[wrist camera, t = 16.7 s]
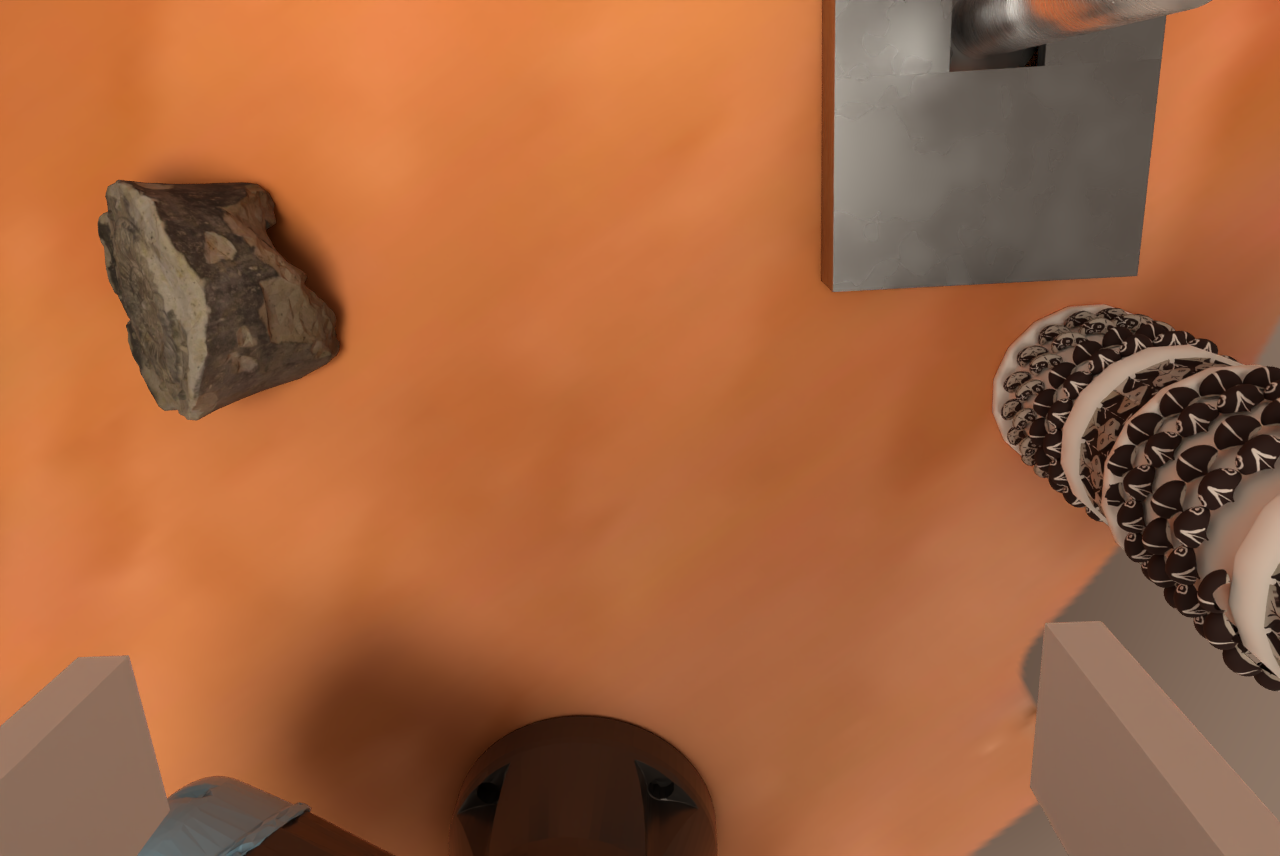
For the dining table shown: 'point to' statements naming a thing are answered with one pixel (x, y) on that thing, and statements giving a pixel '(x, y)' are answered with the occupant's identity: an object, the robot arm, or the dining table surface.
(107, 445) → the dining table surface
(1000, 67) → the steel peg
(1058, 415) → the decorative candle
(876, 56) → the keyhole plate
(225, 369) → the fossil
